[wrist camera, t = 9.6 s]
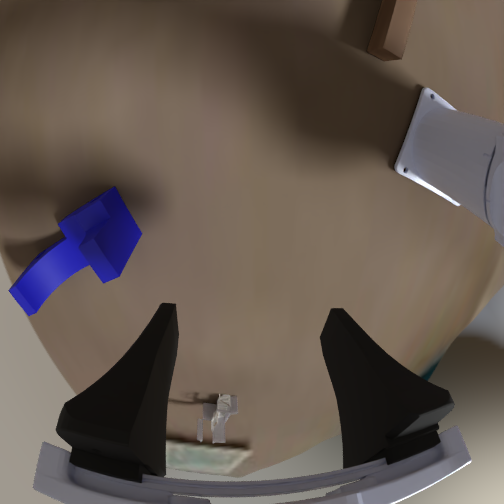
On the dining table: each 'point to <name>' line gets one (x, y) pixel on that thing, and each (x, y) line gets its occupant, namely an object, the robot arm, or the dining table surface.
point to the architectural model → (217, 416)
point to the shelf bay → (392, 29)
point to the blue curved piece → (81, 249)
